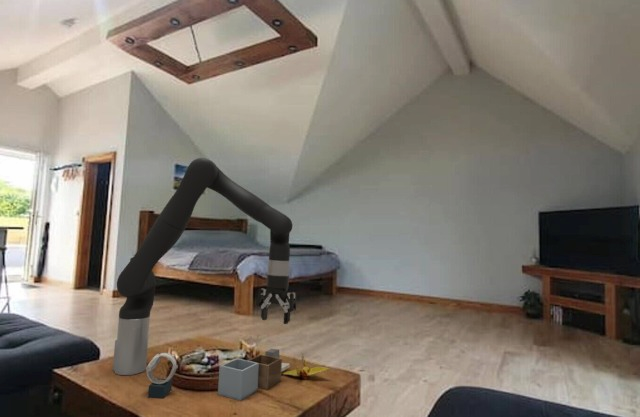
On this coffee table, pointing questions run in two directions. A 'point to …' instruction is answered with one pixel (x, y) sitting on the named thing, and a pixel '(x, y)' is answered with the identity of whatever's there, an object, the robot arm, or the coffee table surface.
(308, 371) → the origami crane
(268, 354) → the lid
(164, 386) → the watch
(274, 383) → the walnut box
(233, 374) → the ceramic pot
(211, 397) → the coffee table surface
